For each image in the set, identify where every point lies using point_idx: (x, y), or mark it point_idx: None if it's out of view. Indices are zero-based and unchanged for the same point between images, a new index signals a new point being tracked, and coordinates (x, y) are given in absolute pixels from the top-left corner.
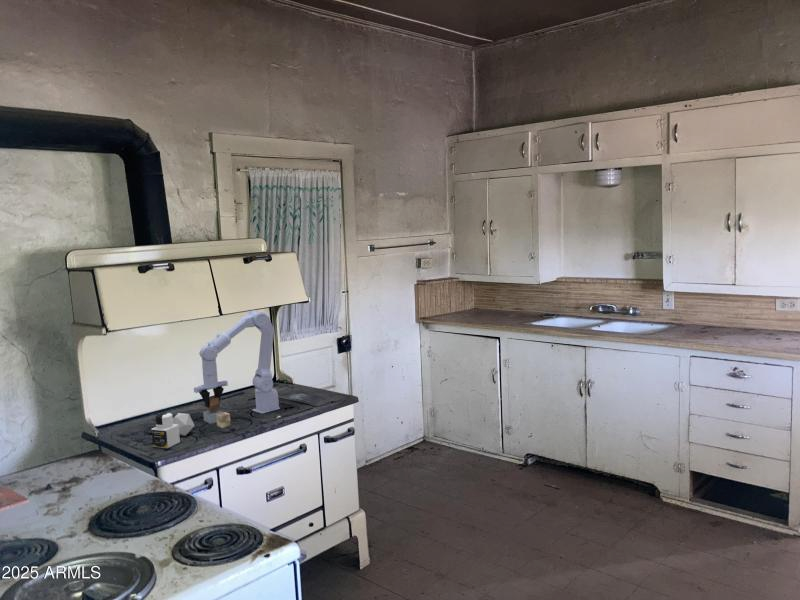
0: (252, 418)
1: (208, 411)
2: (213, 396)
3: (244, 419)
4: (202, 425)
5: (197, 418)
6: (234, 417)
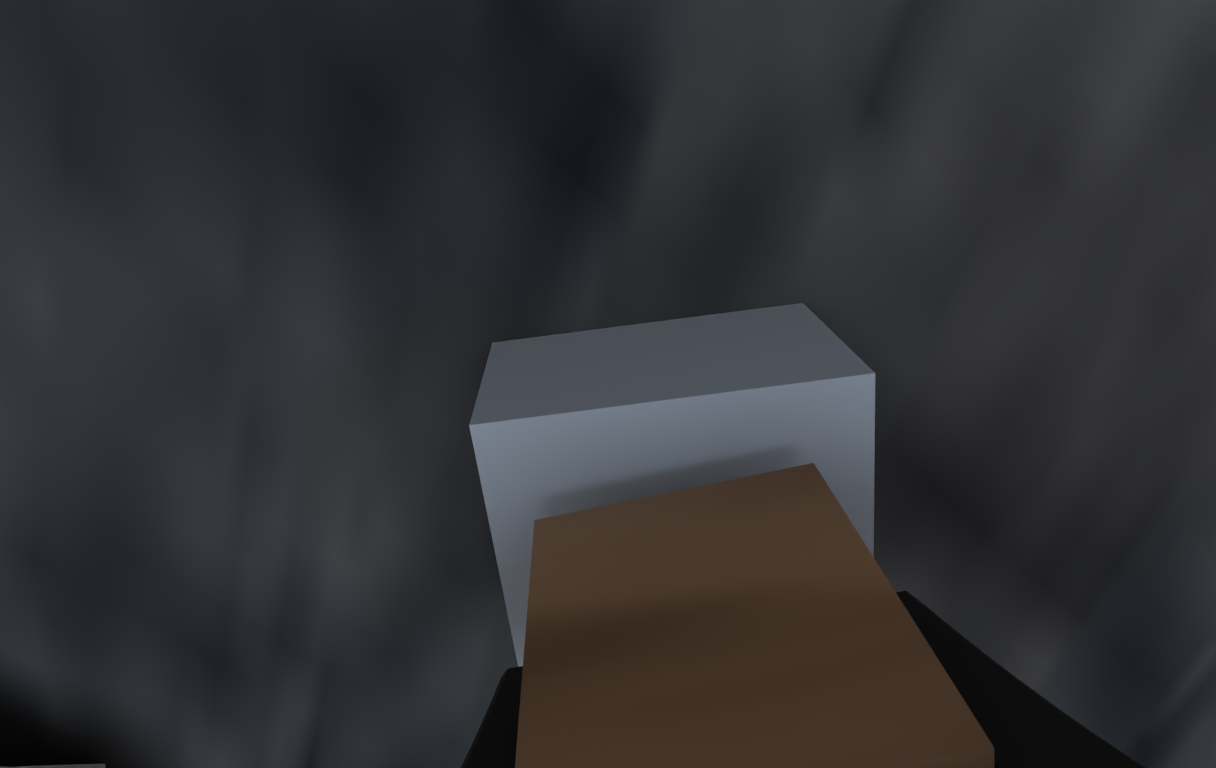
0: (1205, 740)
1: (604, 468)
2: (979, 745)
3: (1091, 716)
4: (394, 608)
5: (402, 43)
6: (1046, 517)
